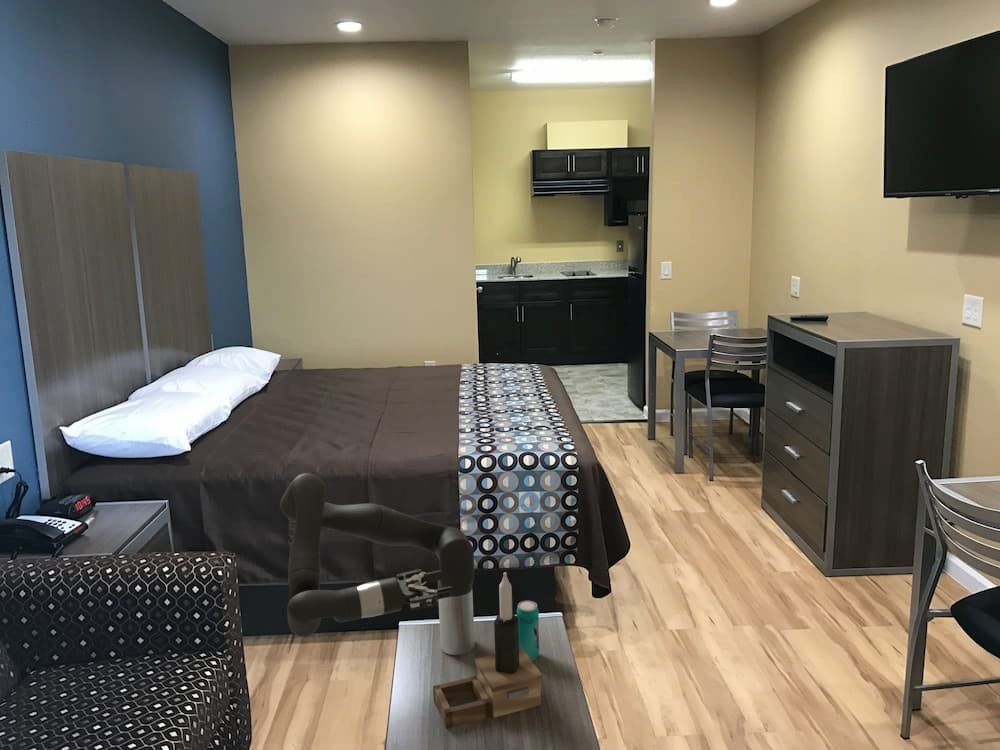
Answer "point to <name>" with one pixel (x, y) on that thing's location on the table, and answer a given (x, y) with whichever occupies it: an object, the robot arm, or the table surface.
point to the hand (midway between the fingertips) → (447, 582)
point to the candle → (506, 632)
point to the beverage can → (528, 628)
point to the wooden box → (490, 692)
